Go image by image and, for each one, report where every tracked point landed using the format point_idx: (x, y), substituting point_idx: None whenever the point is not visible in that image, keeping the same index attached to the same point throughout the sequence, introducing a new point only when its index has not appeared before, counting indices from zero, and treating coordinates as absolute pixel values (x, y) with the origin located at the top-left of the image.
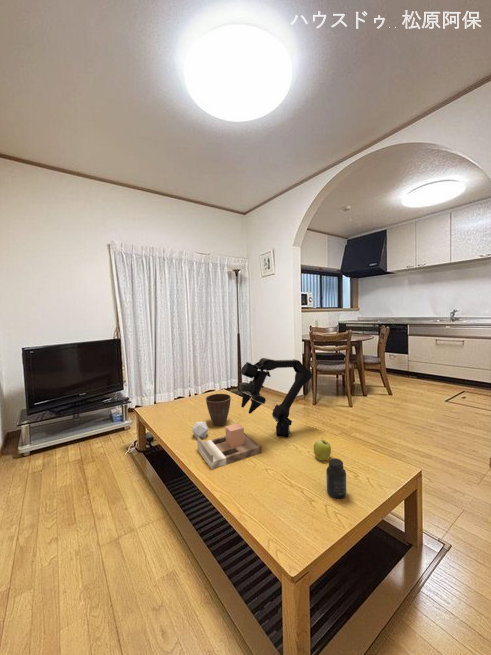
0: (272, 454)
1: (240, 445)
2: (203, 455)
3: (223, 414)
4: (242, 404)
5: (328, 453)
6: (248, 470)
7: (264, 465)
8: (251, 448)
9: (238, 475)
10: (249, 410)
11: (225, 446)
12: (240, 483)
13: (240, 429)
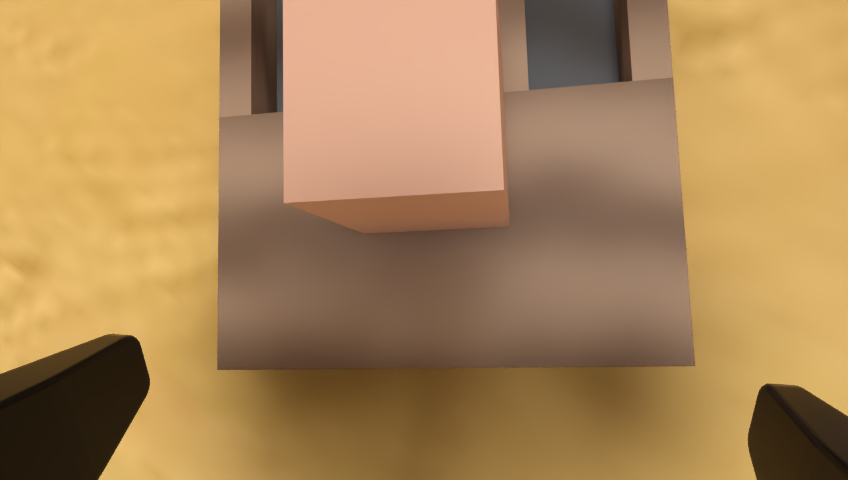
0: (174, 441)
1: None
2: None
3: None
4: (812, 456)
5: None
6: (92, 134)
7: (79, 281)
8: (239, 259)
9: (81, 41)
10: (33, 367)
11: None
12: (3, 23)
13: (289, 143)
